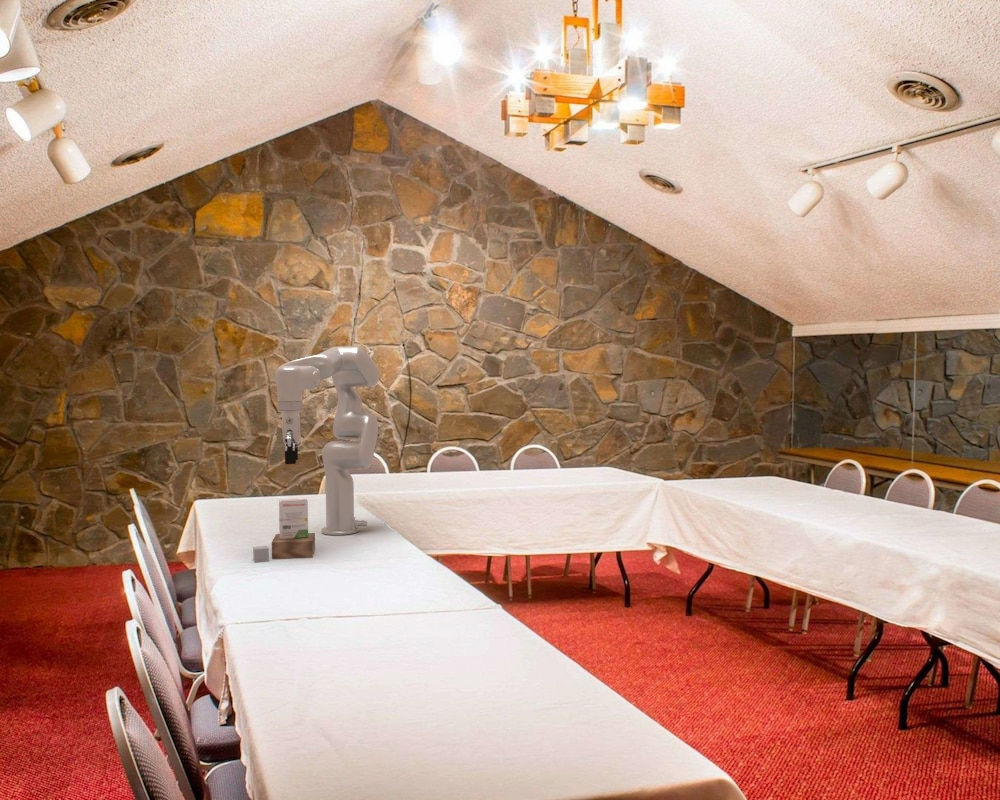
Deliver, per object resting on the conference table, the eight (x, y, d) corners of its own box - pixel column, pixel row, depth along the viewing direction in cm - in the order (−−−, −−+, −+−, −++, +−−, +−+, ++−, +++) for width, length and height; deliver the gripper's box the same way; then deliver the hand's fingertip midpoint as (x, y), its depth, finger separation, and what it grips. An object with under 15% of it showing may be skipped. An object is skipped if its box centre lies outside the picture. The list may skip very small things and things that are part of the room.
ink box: (307, 535, 286) (306, 497, 286) (308, 538, 282) (307, 500, 281) (279, 536, 284) (278, 498, 283) (279, 539, 279) (279, 501, 279)
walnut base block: (315, 548, 290) (314, 532, 290) (312, 557, 277) (312, 541, 277) (276, 549, 288) (276, 534, 288) (271, 558, 276) (271, 542, 275)
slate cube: (267, 558, 276) (266, 545, 276) (268, 561, 272) (268, 548, 272) (253, 560, 275) (253, 546, 275) (255, 562, 271) (254, 549, 271)
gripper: (301, 408, 275) (302, 465, 276) (304, 404, 292) (305, 458, 293) (275, 409, 274) (276, 466, 275) (280, 405, 291) (281, 458, 292)
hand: (291, 461), depth 284 cm, fingers open, 9 cm apart
